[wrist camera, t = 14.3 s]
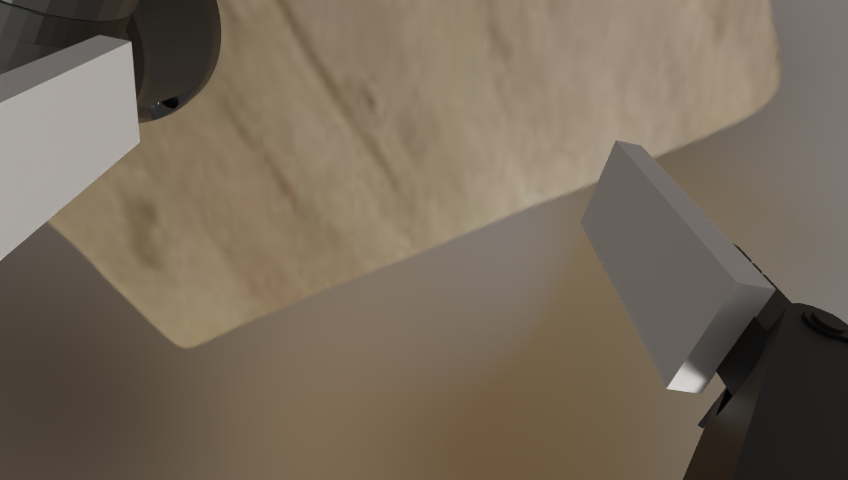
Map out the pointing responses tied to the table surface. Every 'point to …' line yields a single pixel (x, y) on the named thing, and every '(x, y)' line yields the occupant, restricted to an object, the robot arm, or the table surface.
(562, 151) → the table surface
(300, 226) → the table surface
